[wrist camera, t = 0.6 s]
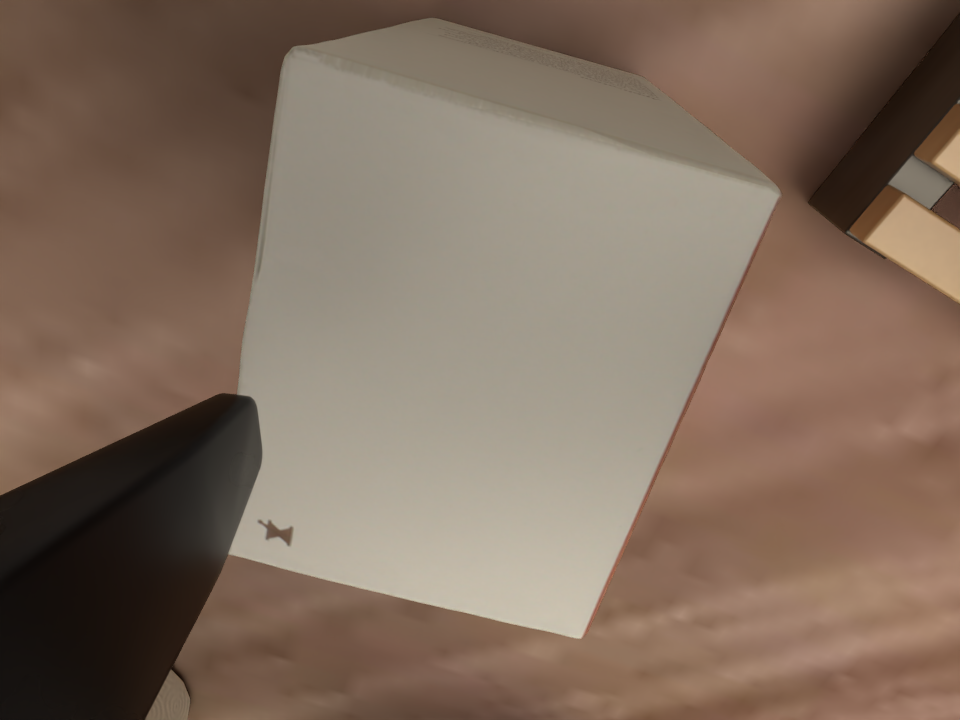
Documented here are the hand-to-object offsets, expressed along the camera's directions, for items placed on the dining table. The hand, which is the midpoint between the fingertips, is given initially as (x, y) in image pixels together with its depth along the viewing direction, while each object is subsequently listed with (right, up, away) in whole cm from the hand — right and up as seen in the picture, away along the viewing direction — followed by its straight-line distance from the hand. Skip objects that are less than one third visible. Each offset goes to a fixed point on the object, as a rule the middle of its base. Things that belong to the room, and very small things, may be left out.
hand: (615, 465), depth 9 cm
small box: (-1, +7, +13) cm, 15 cm away
